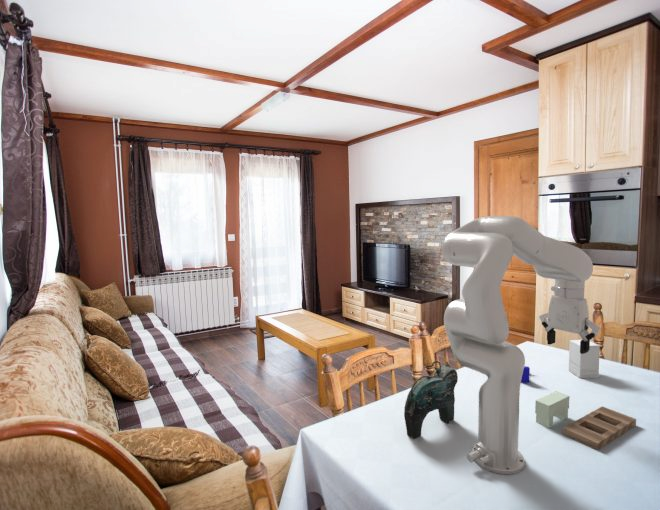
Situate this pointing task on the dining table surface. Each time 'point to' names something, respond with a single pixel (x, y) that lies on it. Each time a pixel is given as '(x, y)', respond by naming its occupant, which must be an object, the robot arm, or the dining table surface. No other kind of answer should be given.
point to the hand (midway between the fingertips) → (567, 348)
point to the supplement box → (584, 360)
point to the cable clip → (525, 375)
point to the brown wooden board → (599, 427)
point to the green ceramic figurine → (430, 398)
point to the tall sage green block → (551, 408)
